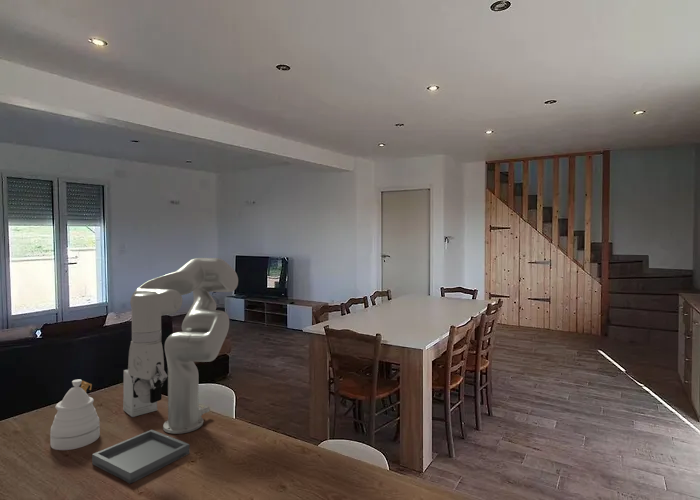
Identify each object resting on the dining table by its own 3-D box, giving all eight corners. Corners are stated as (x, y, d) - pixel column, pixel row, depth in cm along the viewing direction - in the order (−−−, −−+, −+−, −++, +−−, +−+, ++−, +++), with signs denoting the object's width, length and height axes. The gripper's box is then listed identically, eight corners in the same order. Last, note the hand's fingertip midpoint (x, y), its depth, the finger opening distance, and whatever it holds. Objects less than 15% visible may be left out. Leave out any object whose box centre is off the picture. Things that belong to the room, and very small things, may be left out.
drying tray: (151, 438, 133) (151, 429, 133) (189, 453, 123) (189, 444, 123) (92, 464, 117) (92, 454, 117) (130, 483, 108) (130, 473, 108)
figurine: (82, 408, 155) (82, 376, 155) (97, 409, 154) (97, 377, 154) (63, 418, 147) (63, 383, 146) (79, 419, 146) (78, 385, 145)
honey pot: (57, 434, 135) (57, 378, 134) (103, 428, 139) (103, 374, 139) (44, 453, 123) (43, 392, 122) (95, 446, 127) (94, 387, 127)
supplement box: (131, 418, 147) (131, 375, 147) (122, 410, 154) (122, 369, 153) (158, 410, 154) (158, 369, 154) (148, 403, 160) (148, 364, 160)
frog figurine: (143, 397, 123) (143, 373, 123) (164, 399, 122) (164, 375, 122) (128, 405, 118) (128, 380, 117) (150, 407, 116) (150, 382, 116)
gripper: (115, 335, 120) (116, 397, 121) (154, 343, 112) (155, 409, 112) (139, 330, 127) (140, 389, 127) (178, 337, 118) (179, 400, 119)
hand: (147, 398), depth 120 cm, fingers closed on frog figurine, 6 cm apart
